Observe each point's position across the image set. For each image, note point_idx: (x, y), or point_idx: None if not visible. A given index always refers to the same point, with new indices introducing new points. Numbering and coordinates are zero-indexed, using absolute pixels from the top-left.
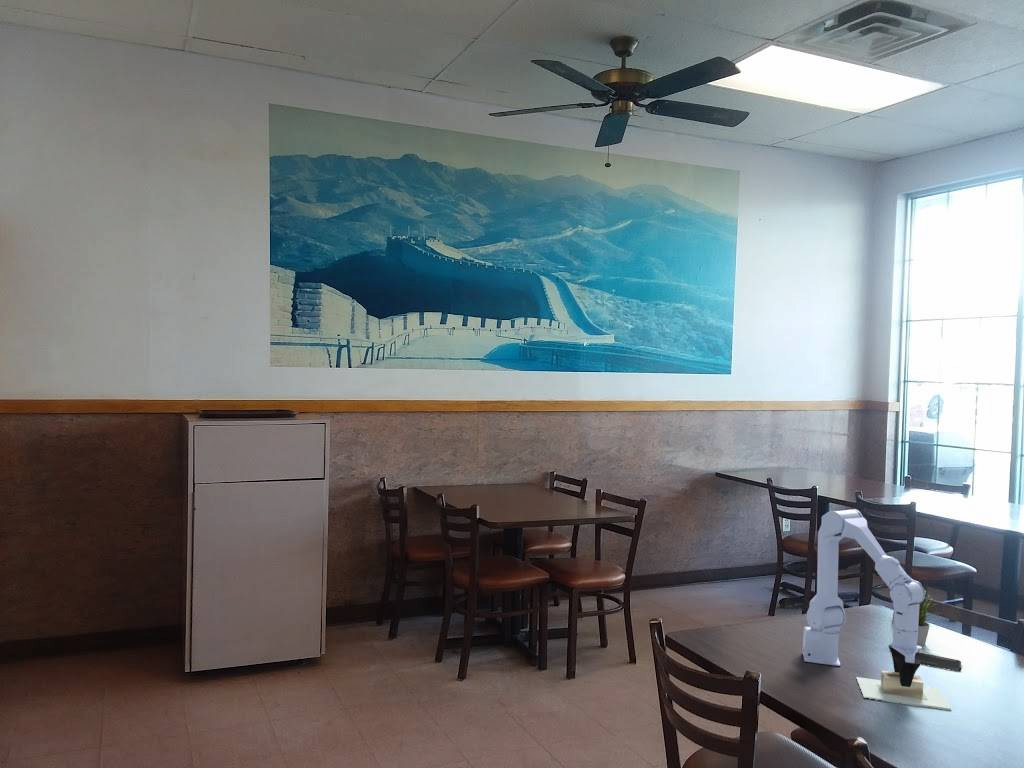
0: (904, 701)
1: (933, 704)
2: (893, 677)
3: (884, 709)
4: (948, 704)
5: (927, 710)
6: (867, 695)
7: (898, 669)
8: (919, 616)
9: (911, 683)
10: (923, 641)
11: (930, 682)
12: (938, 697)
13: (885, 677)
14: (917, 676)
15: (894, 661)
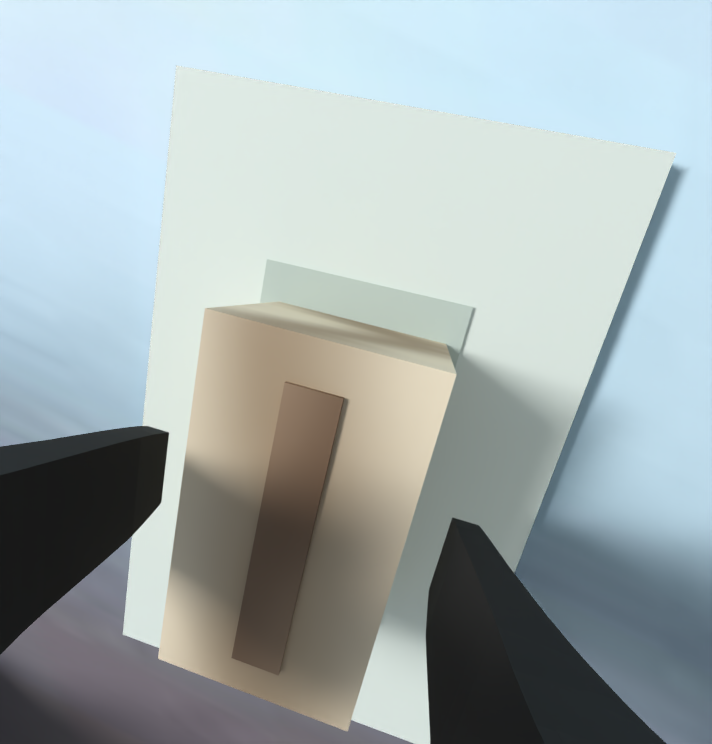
0: (515, 525)
1: (570, 298)
2: (326, 644)
3: None
4: (568, 135)
5: (650, 393)
6: (423, 723)
7: (120, 512)
8: None
9: (491, 543)
10: None
11: (44, 79)
12: (402, 168)
13: (339, 721)
14: (247, 350)
15: (23, 617)
